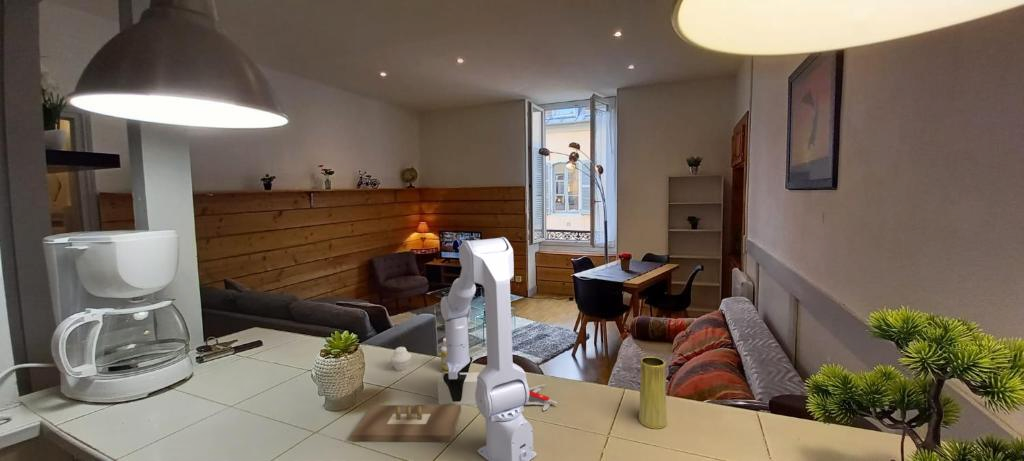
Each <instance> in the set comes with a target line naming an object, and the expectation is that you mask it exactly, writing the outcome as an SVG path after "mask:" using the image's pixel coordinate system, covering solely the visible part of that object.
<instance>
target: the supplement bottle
mask: <svg viewBox="0 0 1024 461" xmlns="http://www.w3.org/2000/svg"><path fill="white" fill-rule="evenodd" d="M442 344H443V345H442V346H441V348H440V356H441V359H440V360H441V361H440V362H441V364H440V365H441V371H442V373H448V371H449V370H448V367H447V364H446V363H442V360H443V358H444V357H447V351H446V337H443V339H442Z"/></svg>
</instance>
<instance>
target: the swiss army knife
mask: <svg viewBox="0 0 1024 461" xmlns="http://www.w3.org/2000/svg"><path fill="white" fill-rule="evenodd" d="M543 386H546V383H544V384H539V385H538V384H537V385H535V386H531V387H529V400H528V403H527V404H526V405H525V406H527V405H533V406H534V405H536V406H542V407H543V408H542V411H543V412H544V411H547V410H548V409H549V406H550V403H552V404H558V402H557V401H556V400H553V399H550V397H549V396H548V395H544V394H541V393H538V392H539V391H541V390H542V388H541V387H543Z"/></svg>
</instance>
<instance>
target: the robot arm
mask: <svg viewBox="0 0 1024 461" xmlns="http://www.w3.org/2000/svg"><path fill="white" fill-rule="evenodd" d="M458 258H459V264H460V266H461V270H460V275H459V277H458V278H456V279H455V280H454V281H453V282H452V285H451V287H450V290H449V293H448V295H446V296H443V297H441V300H440V312H441V316H442V319H443V320H444V328H445V329H444V330H445V331H444V332H445V338H446V351H447V357H444V358H443V360H442V363H446V364H447V367H448V370H449V371H448V373H445V374H444V376H443V380H444V382H445V383H446V384H447V386H448V388H449V391H450V394H451V398H452V401H453V402H460V401H461V399H462V392H463V384H464V381H465V379H466V376H467V375H460V373H470V372H469V371H470V368H471V364H472V362H473V356H470V346H469V345H470V343H469V342H470V341H469V327H468V326H469V325H470V322H471V321H470V318H471V313H472V308H471V307H472V306H471V302H472V300H473V298H474V296H475V294H476V291H477V286H476V284H479V285H481V286H482V287H483V289H484V305H485V306H484V310H485V331H486V335H485V338H486V355H487V356H486V357H487V358H486V360H487V362H486V363H487V364H486V365H485V367H484V368H482V370H481V371H480V372H478V373H479V375H478V376H477V387H476V391H475V399H476V404H475V405H476V407H477V410H478V412H479V413H480V415H482V416H483V417H484V419H485V420H484V421H485V435H486V436H485V441H486V445H483V446H482V447H480V448H479V449H478V450H477V453H478V454H479V455H481V456H482V457H483V458H484V459H486V460H487V461H532V459H534V458H535V457H537V452H536V451H535V450H534V431H533V426H532V424H531V423H530V422H529V421H528V420H527V419H526V418H525V417H524V414H522V413H523V412H524V410H525V406H527V405H526V404H527V403H528V402H529V401H528V400H529V391H530V390H529V388H530V387H529V384H528V380H527V374H526V372H525V370H524V369H523V368H522V366H519V365H518V364H516V363H514V362H513V338H512V337H513V336H512V334H513V333H512V309H511V306H512V305H511V304H512V303H511V302H512V301H511V283H510V282H511V281H510V280H511V279H513V277H514V276H515V274H514V273H515V272H514V271H515V269H514V267H515V264H514V262H515V261H514V249H513V247H512V245H511V243H510V242H509V240H508V239H507V238H506V237H505V236H500V237H496V238H486V239H477V240H475V239H474V240H463V241H462V242H461V244H460V246H459V248H458Z"/></svg>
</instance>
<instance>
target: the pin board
mask: <svg viewBox="0 0 1024 461" xmlns="http://www.w3.org/2000/svg"><path fill="white" fill-rule="evenodd" d="M461 413H462V404H436V405H435V404H426V405H425V404H418V405H417V404H413V405H412V404H411V405H410V404H407V405H405V404H404V405H403V404H401V405H400V404H399V405H398V404H397V405H396V404H389V405H387V404H386V405H385V404H381V405H377V404H376V405H374V404H373V405H372V406H371V407H370V409H369V410H368V411H367V413H366V414H365V415H364V417H363V418H362V419H361V421H360V422H359V424H357V426H356V428H355V429H354V431H353V432H352V433H351V434H350V441H351V442H359V443H360V442H369V443H370V442H372V443H373V442H375V443H376V442H379V443H380V442H381V443H382V442H385V443H387V442H388V443H390V442H392V443H393V442H395V443H399V442H400V443H401V442H402V443H403V442H404V443H409V442H410V443H411V442H413V443H419V442H420V443H433V442H434V443H436V442H437V443H444V442H445V443H452V439H453V437H454V434H455V432H456V428H457V424H458V421H459V418H460V416H461Z"/></svg>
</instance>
